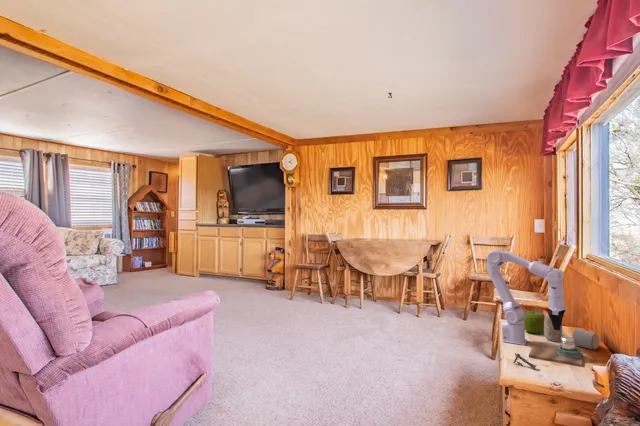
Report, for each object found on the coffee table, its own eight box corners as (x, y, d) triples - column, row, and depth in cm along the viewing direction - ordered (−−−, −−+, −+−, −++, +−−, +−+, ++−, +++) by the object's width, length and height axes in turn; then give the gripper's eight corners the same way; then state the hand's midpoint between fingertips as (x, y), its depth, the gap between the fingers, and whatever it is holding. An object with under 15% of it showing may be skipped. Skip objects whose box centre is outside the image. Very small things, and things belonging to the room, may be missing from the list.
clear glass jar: (562, 355, 148) (561, 338, 148) (561, 352, 152) (560, 335, 152) (575, 357, 146) (574, 340, 146) (574, 353, 150) (573, 337, 150)
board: (528, 357, 150) (528, 348, 150) (533, 347, 161) (533, 339, 161) (581, 366, 139) (581, 357, 139) (582, 355, 150) (582, 347, 150)
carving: (565, 343, 165) (563, 317, 166) (546, 341, 168) (545, 316, 168) (560, 338, 171) (559, 313, 172) (542, 337, 174) (541, 312, 174)
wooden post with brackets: (512, 360, 146) (516, 351, 144) (532, 373, 140) (536, 364, 139) (510, 361, 145) (514, 352, 143) (530, 375, 139) (535, 365, 138)
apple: (519, 328, 189) (518, 307, 189) (542, 329, 186) (541, 308, 186) (525, 335, 178) (524, 313, 179) (550, 336, 175) (549, 313, 176)
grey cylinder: (593, 352, 154) (592, 334, 154) (572, 346, 160) (571, 329, 161) (603, 347, 159) (602, 329, 160) (582, 342, 166) (581, 325, 166)
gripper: (566, 300, 149) (567, 333, 149) (568, 294, 161) (569, 324, 160) (546, 299, 153) (547, 330, 153) (549, 293, 165) (551, 322, 165)
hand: (557, 327), depth 157 cm, fingers open, 7 cm apart
